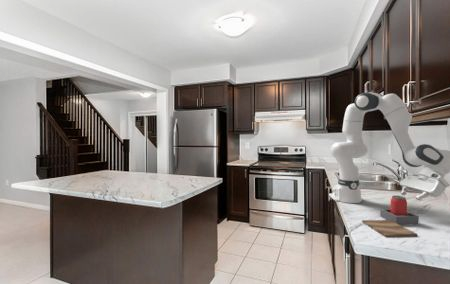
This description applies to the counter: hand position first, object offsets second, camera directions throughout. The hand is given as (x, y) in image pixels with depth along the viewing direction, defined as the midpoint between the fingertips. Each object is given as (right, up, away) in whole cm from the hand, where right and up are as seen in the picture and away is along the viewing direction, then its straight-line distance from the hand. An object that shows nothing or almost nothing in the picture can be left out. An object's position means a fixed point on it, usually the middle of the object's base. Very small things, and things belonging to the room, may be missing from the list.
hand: (409, 196), depth 115 cm
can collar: (-5, -12, 0) cm, 13 cm away
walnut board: (-18, -13, -10) cm, 24 cm away
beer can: (-5, -12, 0) cm, 13 cm away
